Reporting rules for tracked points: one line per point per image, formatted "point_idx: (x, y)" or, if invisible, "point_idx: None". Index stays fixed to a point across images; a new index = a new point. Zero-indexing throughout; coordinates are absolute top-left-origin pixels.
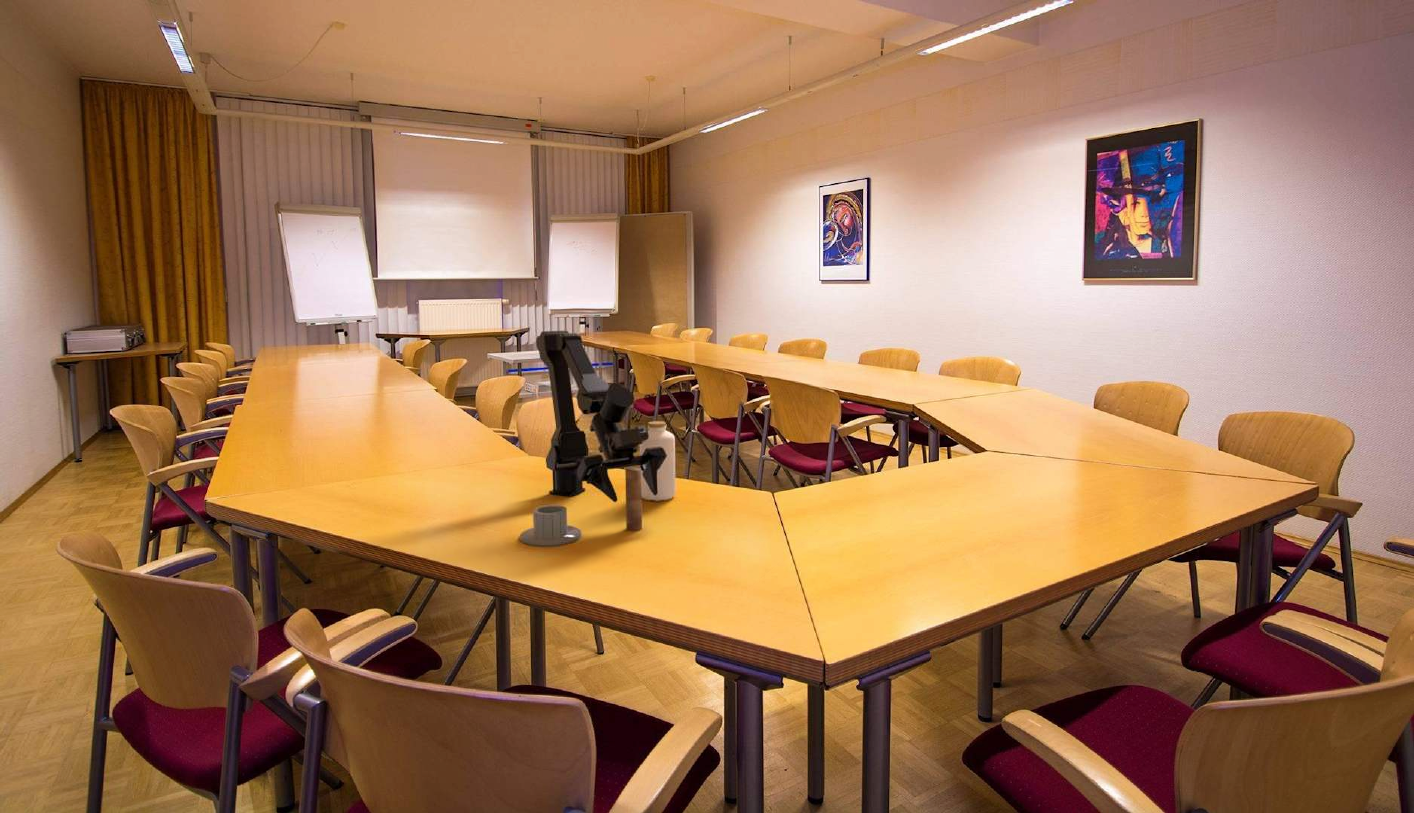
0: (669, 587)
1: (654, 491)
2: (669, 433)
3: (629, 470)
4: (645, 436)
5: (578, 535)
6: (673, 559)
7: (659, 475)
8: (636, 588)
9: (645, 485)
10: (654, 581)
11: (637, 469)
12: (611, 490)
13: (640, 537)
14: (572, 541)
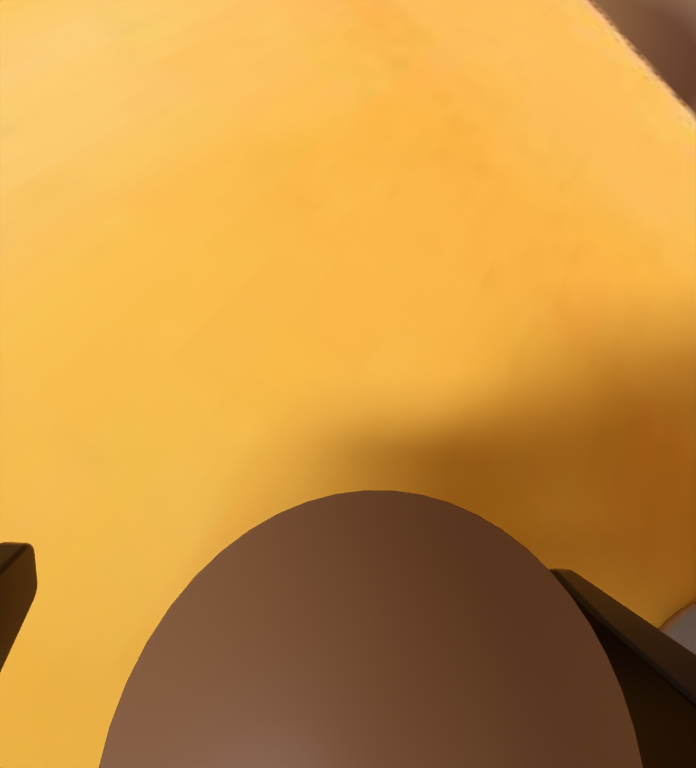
0: (495, 51)
1: (14, 585)
2: None
3: (548, 706)
4: None
5: None
6: (374, 160)
7: None
8: (573, 95)
9: None
10: (513, 93)
11: (275, 672)
12: (673, 647)
13: (342, 447)
14: (692, 604)
